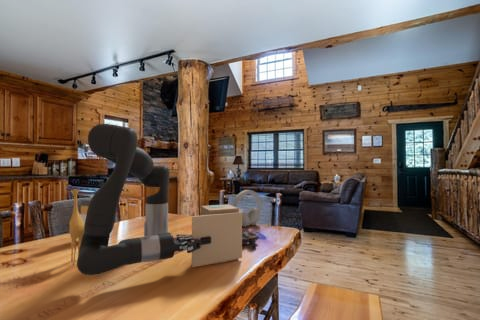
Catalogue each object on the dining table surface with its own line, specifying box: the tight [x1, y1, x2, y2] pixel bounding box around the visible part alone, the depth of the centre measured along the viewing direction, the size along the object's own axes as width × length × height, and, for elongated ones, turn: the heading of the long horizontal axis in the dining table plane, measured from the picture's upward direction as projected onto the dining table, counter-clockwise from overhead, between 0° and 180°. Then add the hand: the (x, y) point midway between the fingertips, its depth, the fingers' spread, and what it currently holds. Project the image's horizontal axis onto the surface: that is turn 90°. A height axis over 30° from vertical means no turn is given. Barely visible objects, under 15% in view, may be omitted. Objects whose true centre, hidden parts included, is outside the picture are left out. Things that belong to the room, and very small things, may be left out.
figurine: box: [242, 228, 260, 250], centre depth 116 cm, size 13×6×30 cm
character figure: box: [79, 198, 92, 224], centre depth 114 cm, size 8×10×18 cm
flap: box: [191, 212, 243, 268], centre depth 87 cm, size 18×1×16 cm, turn 118°
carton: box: [200, 203, 240, 265], centre depth 94 cm, size 11×10×18 cm
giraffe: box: [68, 188, 85, 266], centre depth 90 cm, size 16×4×25 cm, turn 39°
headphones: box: [232, 189, 262, 228], centre depth 142 cm, size 19×8×20 cm, turn 127°
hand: (209, 239), depth 85 cm, fingers closed
